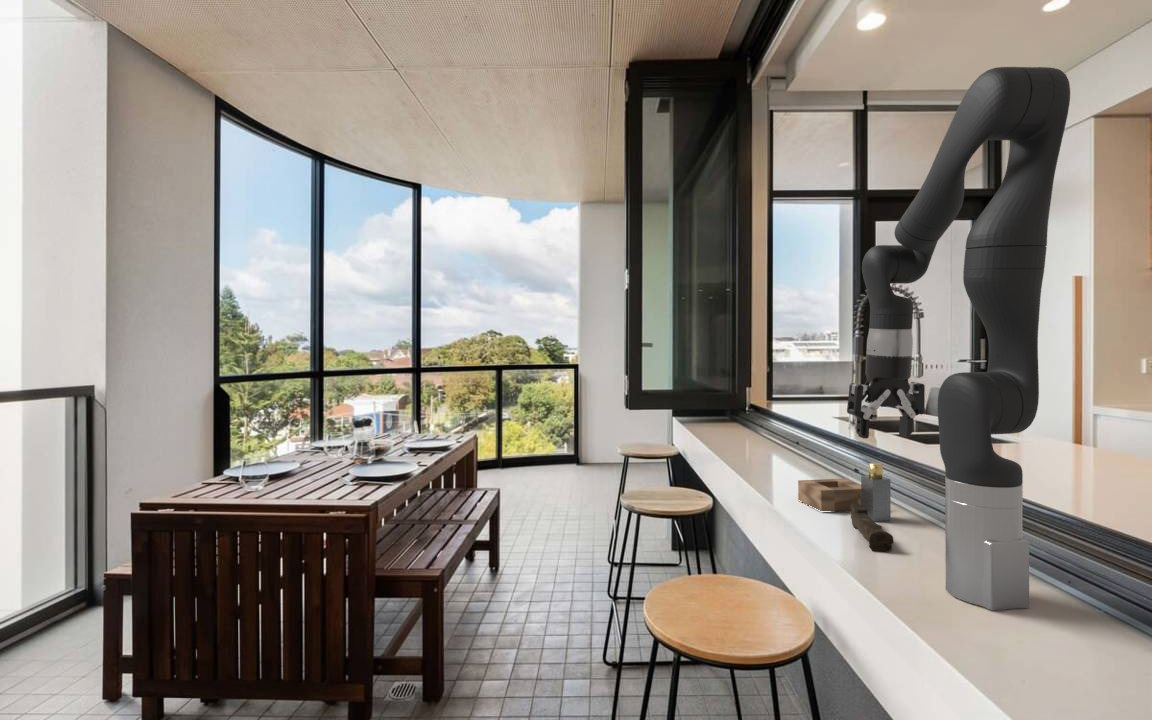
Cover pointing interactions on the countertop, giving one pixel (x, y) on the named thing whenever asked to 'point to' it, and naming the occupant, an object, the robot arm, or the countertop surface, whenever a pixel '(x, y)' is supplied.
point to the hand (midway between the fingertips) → (884, 437)
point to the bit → (876, 494)
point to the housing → (829, 494)
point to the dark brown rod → (870, 529)
